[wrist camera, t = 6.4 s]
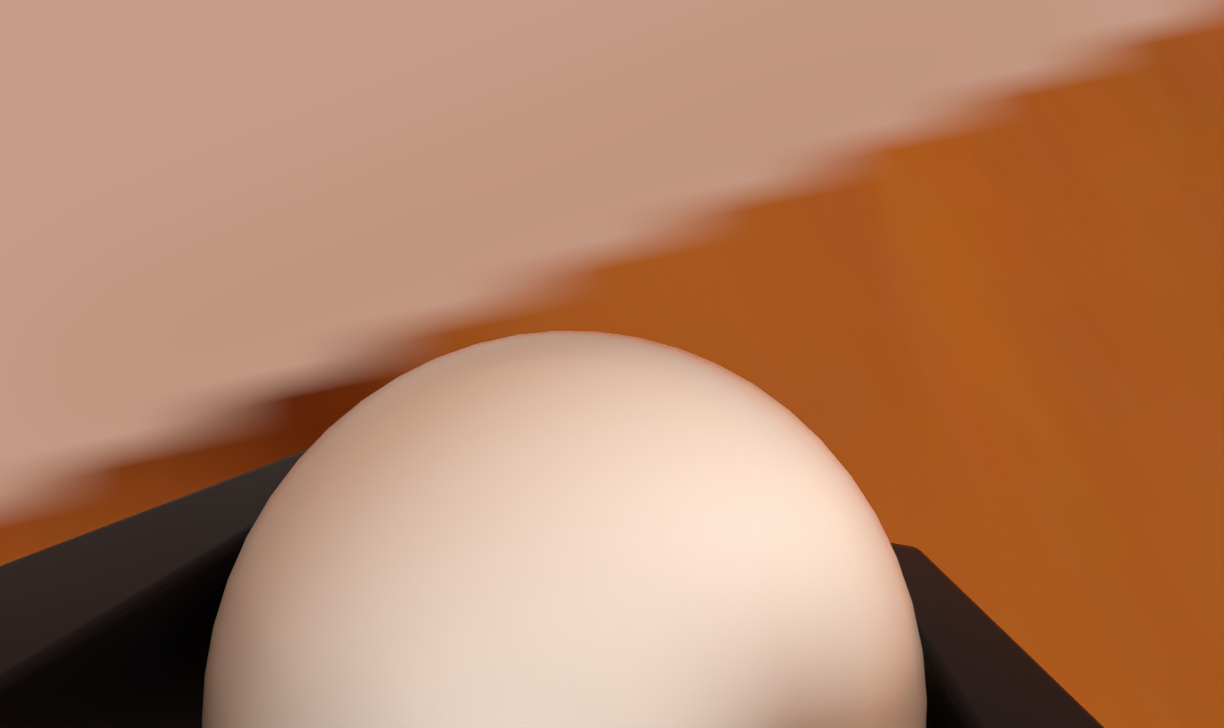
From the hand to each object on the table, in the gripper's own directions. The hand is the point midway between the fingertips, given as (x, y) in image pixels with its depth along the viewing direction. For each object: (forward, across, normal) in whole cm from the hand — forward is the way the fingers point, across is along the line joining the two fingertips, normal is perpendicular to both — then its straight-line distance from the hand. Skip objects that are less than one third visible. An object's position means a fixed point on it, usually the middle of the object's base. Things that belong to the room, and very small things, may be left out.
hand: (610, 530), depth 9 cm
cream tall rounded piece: (+4, 0, +6) cm, 7 cm away
